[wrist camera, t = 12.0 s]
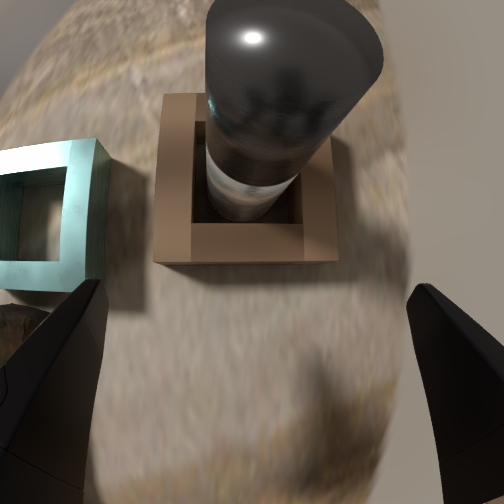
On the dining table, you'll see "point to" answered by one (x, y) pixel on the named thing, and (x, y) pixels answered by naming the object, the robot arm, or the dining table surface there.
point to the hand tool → (17, 327)
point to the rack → (235, 234)
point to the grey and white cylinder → (278, 92)
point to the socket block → (73, 214)
